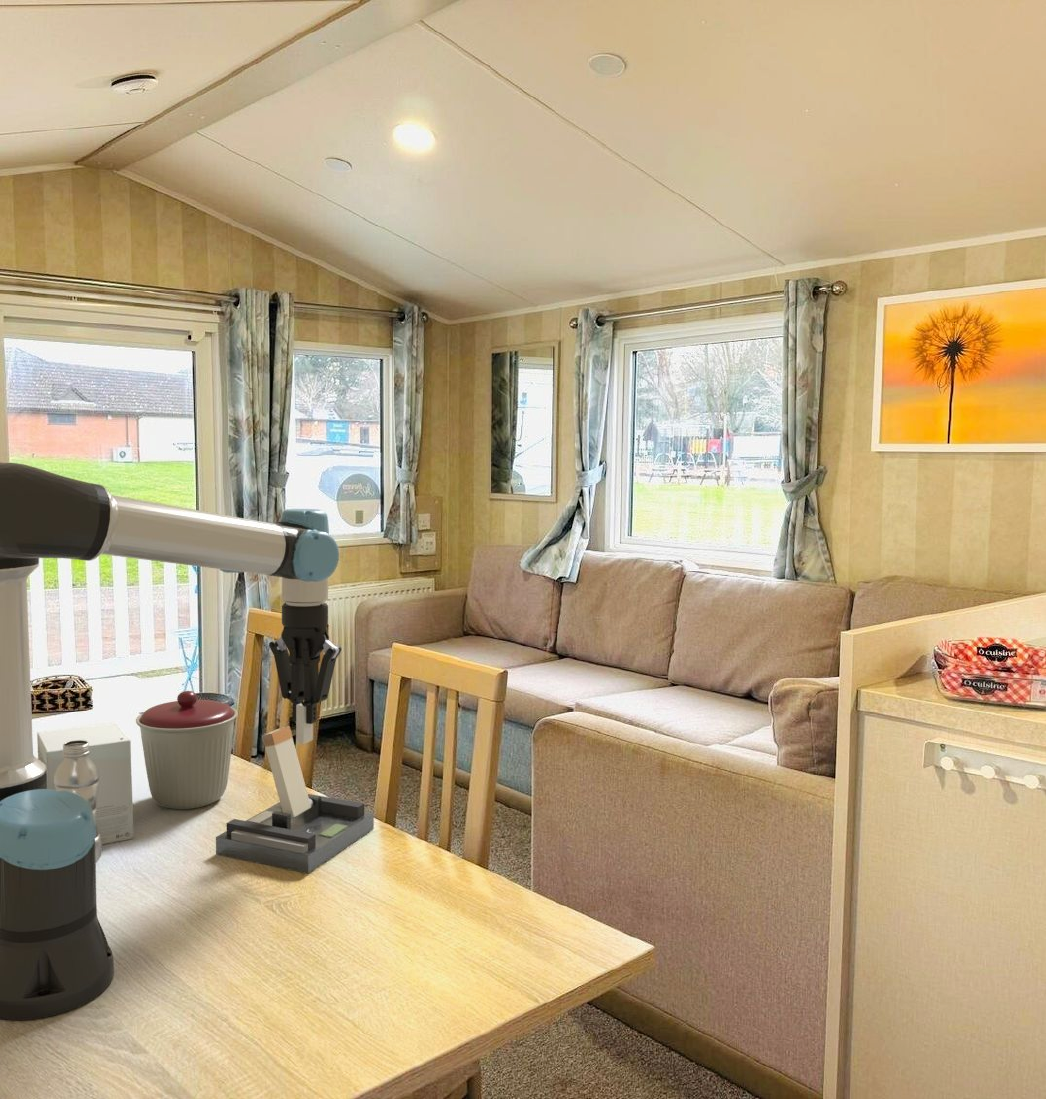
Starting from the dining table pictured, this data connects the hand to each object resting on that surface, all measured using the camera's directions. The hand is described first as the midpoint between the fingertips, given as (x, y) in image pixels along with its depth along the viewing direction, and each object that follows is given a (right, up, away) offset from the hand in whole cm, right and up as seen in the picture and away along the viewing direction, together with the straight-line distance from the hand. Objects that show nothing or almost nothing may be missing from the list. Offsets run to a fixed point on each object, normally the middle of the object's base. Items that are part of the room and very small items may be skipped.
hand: (304, 741), depth 164 cm
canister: (-27, -16, +21) cm, 38 cm away
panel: (-2, -18, +3) cm, 18 cm away
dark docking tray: (-2, -15, +2) cm, 15 cm away
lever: (-2, -12, +2) cm, 13 cm away
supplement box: (-39, -17, +5) cm, 43 cm away
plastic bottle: (-34, -19, -8) cm, 40 cm away
